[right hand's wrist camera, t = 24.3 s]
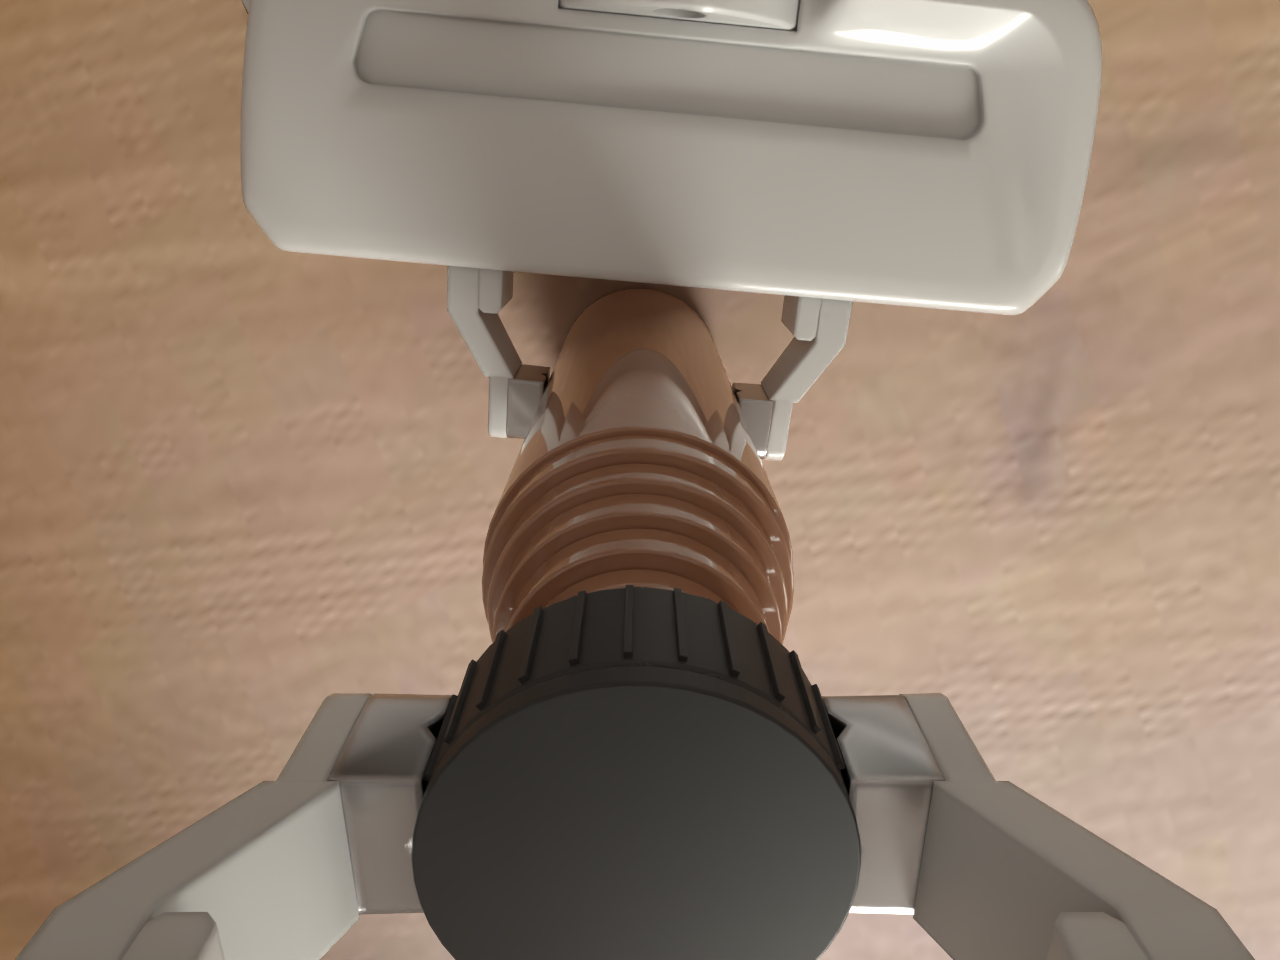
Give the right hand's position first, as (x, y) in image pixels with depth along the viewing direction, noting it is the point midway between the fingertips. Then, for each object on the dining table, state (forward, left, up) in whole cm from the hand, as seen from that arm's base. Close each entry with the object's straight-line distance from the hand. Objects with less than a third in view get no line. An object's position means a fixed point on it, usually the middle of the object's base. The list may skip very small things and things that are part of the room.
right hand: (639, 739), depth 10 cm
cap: (0, 0, +2) cm, 2 cm away
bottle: (0, 0, -20) cm, 20 cm away
